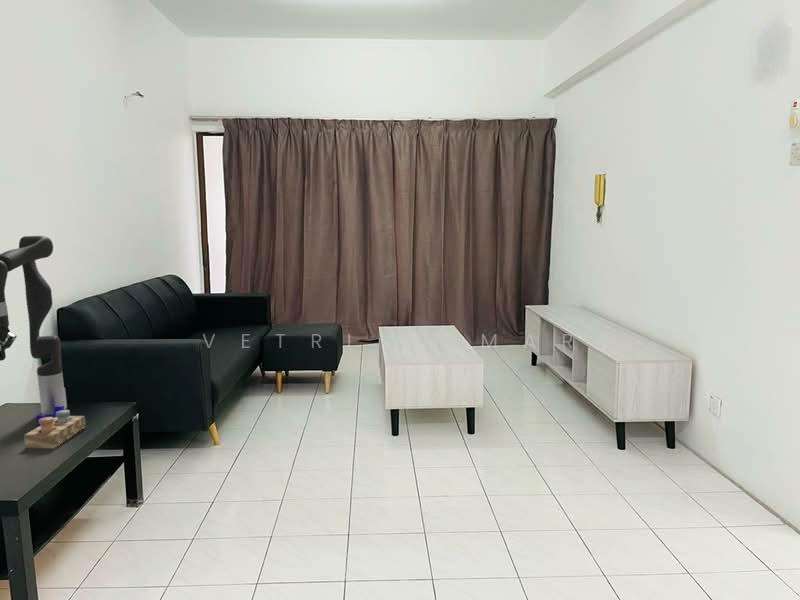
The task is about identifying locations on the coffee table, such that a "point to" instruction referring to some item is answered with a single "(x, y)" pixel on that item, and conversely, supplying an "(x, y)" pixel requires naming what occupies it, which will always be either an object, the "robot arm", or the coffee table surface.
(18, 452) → the coffee table surface
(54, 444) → the oak board
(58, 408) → the cable clip
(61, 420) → the grey plunger
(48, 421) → the terracotta plunger
